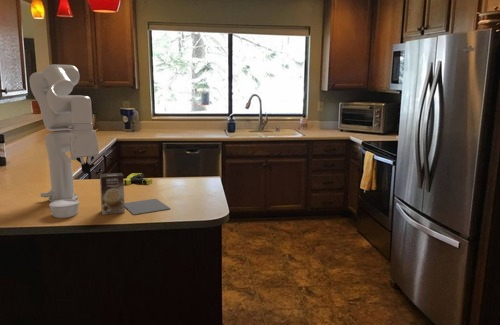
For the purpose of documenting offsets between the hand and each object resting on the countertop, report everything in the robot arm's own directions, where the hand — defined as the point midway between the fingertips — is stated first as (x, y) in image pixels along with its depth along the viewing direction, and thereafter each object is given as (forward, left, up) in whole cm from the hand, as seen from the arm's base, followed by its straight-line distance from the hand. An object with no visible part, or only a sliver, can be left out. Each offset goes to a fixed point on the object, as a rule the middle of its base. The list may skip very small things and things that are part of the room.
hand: (86, 173), depth 169 cm
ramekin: (-8, +7, -18) cm, 21 cm away
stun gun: (+37, +50, -19) cm, 65 cm away
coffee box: (+10, +1, -18) cm, 21 cm away
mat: (+24, +1, -18) cm, 30 cm away
